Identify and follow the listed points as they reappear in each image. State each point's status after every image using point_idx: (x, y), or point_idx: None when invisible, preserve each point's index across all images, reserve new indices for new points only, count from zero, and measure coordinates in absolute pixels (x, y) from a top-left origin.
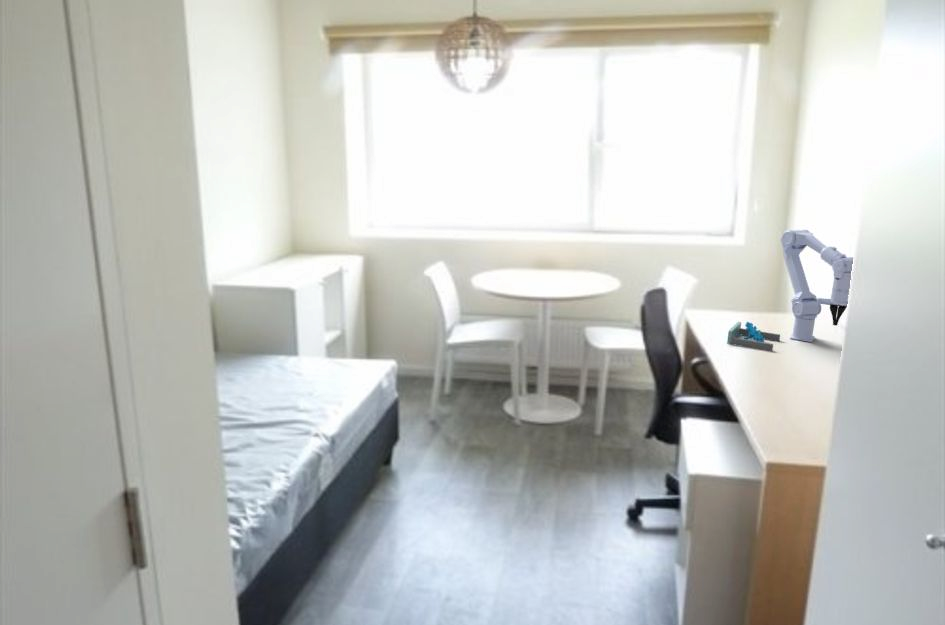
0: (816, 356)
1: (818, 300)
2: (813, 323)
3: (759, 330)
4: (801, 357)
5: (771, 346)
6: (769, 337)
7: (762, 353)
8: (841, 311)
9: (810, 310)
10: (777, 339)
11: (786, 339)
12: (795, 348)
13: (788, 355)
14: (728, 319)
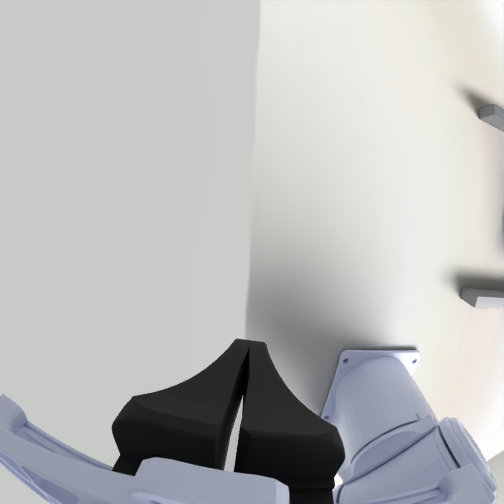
0: (327, 97)
1: (476, 495)
2: (356, 430)
3: None
4: (381, 56)
5: (491, 107)
6: (491, 292)
7: (487, 70)
8: (170, 401)
9: (406, 471)
10: (470, 290)
11: (432, 336)
12: (417, 197)
13: (426, 68)
14: (499, 428)
